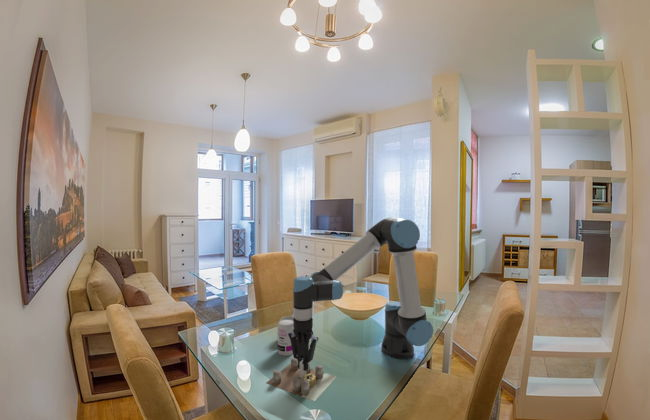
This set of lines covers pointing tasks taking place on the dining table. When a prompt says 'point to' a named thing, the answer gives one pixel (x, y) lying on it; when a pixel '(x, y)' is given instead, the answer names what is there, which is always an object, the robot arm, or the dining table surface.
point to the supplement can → (284, 337)
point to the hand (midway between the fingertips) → (303, 377)
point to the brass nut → (310, 379)
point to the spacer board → (294, 384)
